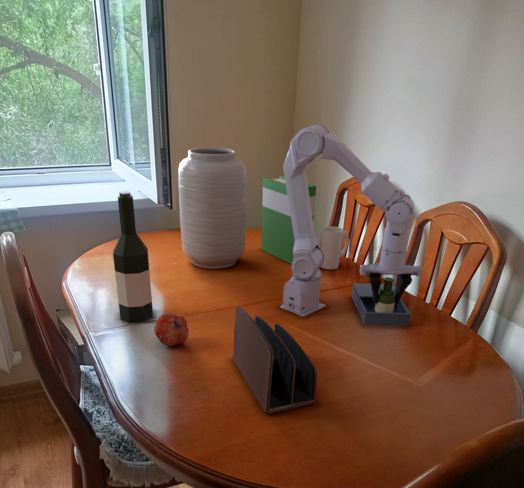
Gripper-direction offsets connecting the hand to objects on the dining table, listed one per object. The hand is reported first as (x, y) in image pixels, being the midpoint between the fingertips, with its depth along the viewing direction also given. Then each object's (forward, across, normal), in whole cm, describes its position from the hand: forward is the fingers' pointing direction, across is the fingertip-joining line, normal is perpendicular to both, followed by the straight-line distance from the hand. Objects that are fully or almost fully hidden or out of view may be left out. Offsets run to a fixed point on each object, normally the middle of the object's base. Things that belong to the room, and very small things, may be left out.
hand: (385, 302), depth 122 cm
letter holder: (+5, +29, +28) cm, 41 cm away
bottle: (+4, 0, 0) cm, 4 cm away
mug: (+5, +7, -39) cm, 40 cm away
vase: (+5, +45, -40) cm, 61 cm away
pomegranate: (+5, +51, +14) cm, 53 cm away
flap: (+1, 0, -9) cm, 9 cm away
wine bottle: (+5, +62, 0) cm, 62 cm away
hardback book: (+5, +22, -48) cm, 53 cm away
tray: (+5, 0, -5) cm, 7 cm away
